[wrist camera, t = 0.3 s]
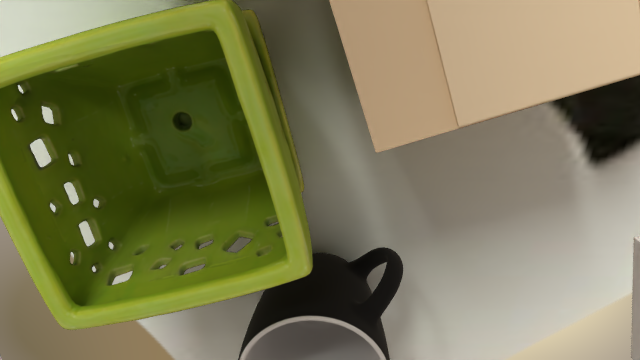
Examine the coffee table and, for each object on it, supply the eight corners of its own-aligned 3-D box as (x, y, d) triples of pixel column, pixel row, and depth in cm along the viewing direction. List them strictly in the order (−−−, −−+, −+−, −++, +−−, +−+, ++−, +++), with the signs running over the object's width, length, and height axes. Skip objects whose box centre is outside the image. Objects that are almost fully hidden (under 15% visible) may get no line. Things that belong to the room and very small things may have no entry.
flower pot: (326, 190, 40) (318, 284, 28) (138, 233, 42) (55, 340, 30) (268, -18, 35) (230, -10, 24) (59, 40, 37) (-74, 75, 25)
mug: (323, 362, 45) (318, 468, 35) (233, 292, 43) (203, 385, 33) (436, 261, 42) (464, 348, 32) (344, 181, 40) (345, 248, 30)
